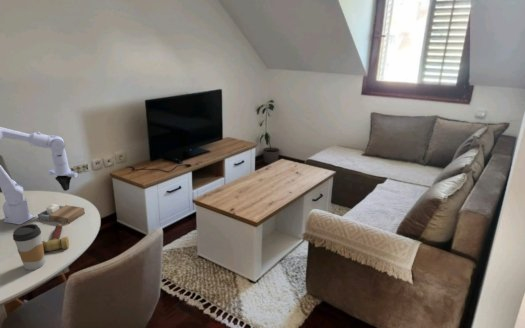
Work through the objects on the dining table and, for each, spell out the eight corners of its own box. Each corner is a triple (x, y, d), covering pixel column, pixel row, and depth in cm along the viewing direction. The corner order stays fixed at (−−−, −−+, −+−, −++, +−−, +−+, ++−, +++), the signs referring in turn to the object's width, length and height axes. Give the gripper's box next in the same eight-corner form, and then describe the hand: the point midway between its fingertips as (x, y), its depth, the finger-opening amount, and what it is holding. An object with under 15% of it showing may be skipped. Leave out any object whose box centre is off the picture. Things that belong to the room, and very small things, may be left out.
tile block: (53, 216, 159) (47, 215, 160) (60, 212, 163) (55, 211, 164) (51, 208, 158) (46, 207, 159) (58, 204, 161) (53, 203, 162)
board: (50, 220, 156) (48, 215, 155) (67, 210, 165) (66, 205, 164) (68, 223, 154) (67, 218, 153) (84, 213, 163) (83, 207, 162)
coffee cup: (38, 256, 131) (29, 221, 126) (53, 261, 128) (45, 226, 123) (16, 268, 124) (5, 232, 119) (32, 274, 121) (22, 238, 116)
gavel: (45, 222, 149) (71, 218, 153) (47, 232, 150) (73, 227, 154) (36, 245, 131) (66, 239, 134) (38, 256, 132) (68, 250, 136)
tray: (38, 218, 158) (37, 214, 157) (56, 208, 167) (55, 204, 166) (49, 220, 156) (48, 216, 155) (66, 210, 165) (65, 206, 164)
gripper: (80, 161, 160) (85, 188, 165) (54, 158, 163) (60, 184, 168) (69, 166, 154) (74, 194, 158) (42, 163, 157) (48, 190, 162)
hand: (66, 189), depth 163 cm, fingers closed
